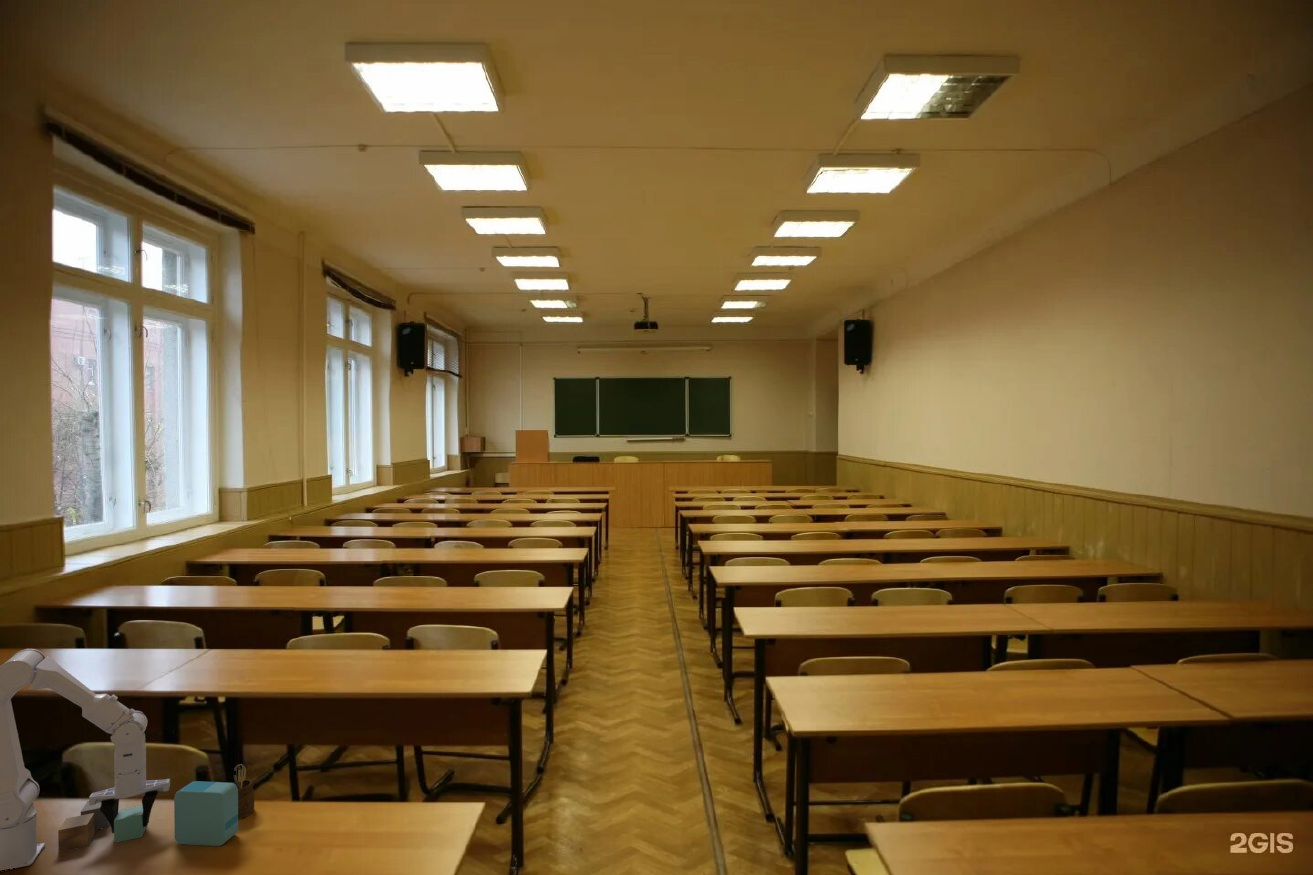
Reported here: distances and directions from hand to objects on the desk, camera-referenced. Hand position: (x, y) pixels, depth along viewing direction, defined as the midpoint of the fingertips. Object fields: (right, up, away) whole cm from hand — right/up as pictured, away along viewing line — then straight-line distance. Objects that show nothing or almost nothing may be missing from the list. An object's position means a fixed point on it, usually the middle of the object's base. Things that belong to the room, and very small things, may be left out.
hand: (130, 827), depth 155 cm
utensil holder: (+20, -2, +8) cm, 22 cm away
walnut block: (-9, -2, -3) cm, 10 cm away
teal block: (0, -1, 0) cm, 1 cm away
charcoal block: (-11, -2, +4) cm, 11 cm away
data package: (+19, -2, -2) cm, 19 cm away
